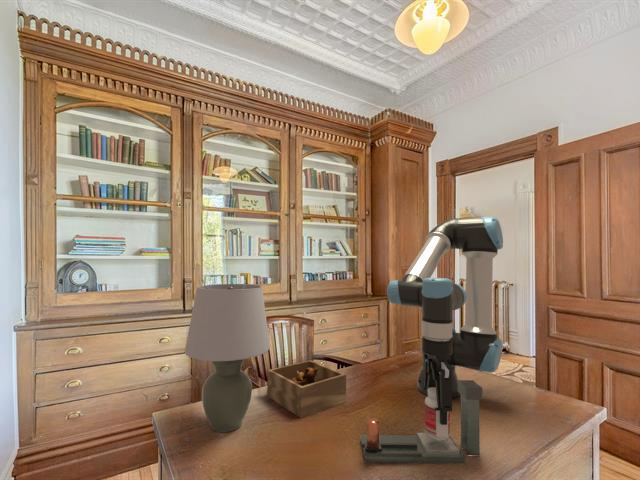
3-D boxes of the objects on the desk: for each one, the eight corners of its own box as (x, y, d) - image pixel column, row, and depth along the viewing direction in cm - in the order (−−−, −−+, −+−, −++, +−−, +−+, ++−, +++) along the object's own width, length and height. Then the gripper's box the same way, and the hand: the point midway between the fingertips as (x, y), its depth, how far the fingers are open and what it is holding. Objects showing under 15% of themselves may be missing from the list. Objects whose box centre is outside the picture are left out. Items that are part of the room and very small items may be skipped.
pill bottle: (444, 444, 81) (444, 397, 82) (420, 435, 85) (420, 390, 86) (453, 434, 86) (453, 390, 86) (430, 425, 90) (430, 384, 90)
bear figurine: (315, 389, 124) (316, 356, 124) (327, 407, 109) (328, 369, 110) (279, 393, 120) (280, 358, 121) (286, 412, 106) (287, 372, 106)
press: (363, 463, 80) (364, 390, 81) (358, 440, 90) (359, 376, 90) (488, 464, 80) (487, 392, 81) (469, 441, 90) (469, 377, 91)
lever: (365, 453, 81) (365, 423, 81) (363, 446, 84) (364, 417, 84) (382, 453, 81) (382, 424, 81) (379, 446, 84) (379, 418, 84)
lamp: (282, 431, 94) (285, 288, 96) (194, 459, 80) (199, 292, 82) (248, 400, 113) (252, 282, 115) (173, 418, 100) (178, 284, 102)
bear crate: (267, 396, 117) (267, 370, 117) (309, 383, 129) (310, 360, 129) (300, 418, 101) (301, 388, 102) (345, 401, 113) (346, 374, 114)
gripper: (468, 347, 77) (468, 450, 76) (438, 329, 96) (437, 411, 95) (435, 347, 77) (435, 450, 76) (412, 329, 96) (411, 411, 95)
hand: (436, 428), depth 85 cm, fingers closed on pill bottle, 6 cm apart
